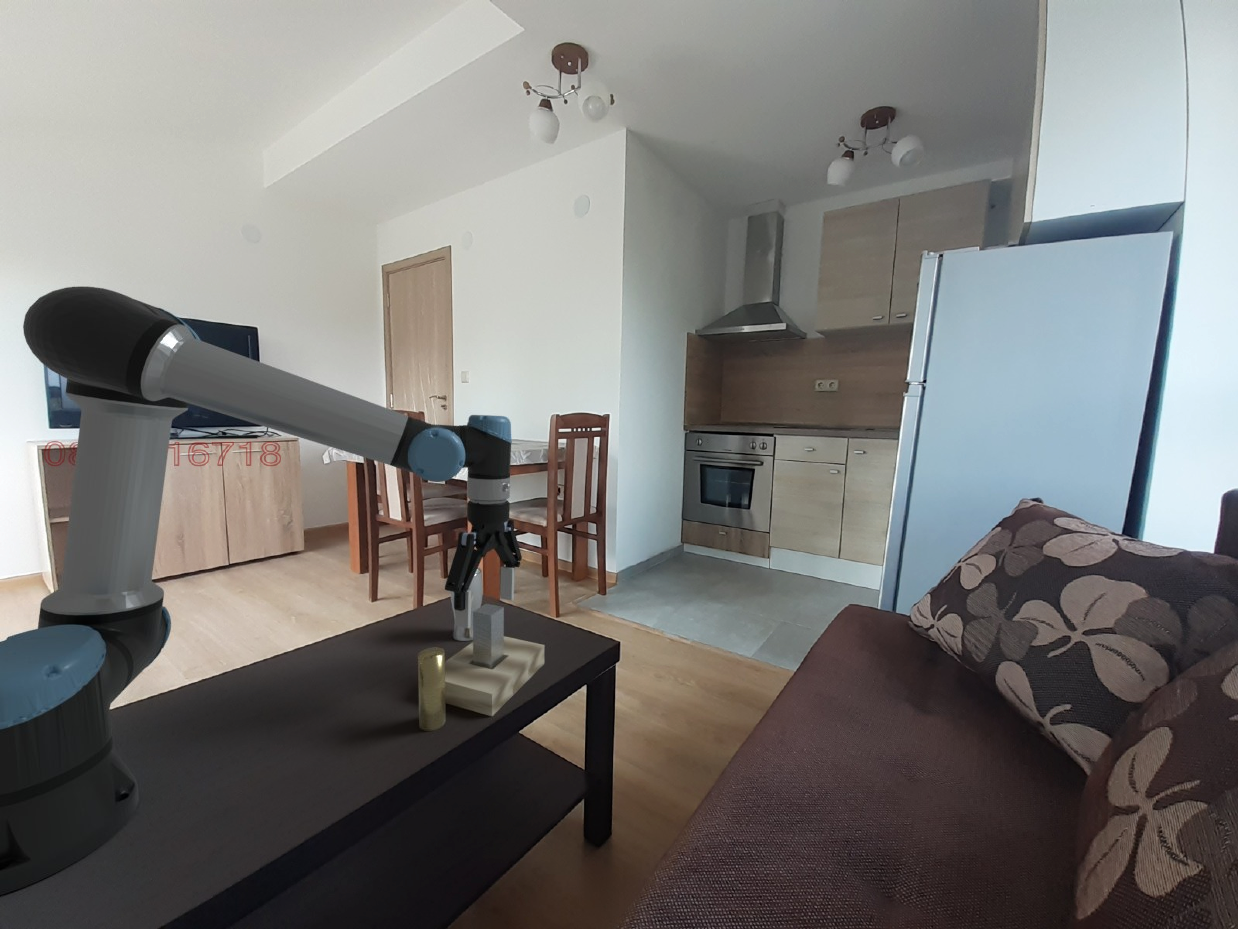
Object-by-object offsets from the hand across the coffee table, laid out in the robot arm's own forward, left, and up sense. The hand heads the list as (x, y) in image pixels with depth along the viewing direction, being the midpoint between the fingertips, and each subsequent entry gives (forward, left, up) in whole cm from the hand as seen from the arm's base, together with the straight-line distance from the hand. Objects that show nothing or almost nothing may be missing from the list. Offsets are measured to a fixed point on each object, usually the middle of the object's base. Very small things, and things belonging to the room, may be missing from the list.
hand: (486, 611), depth 88 cm
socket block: (0, 0, -14) cm, 14 cm away
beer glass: (+13, +15, -14) cm, 24 cm away
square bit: (0, 0, -14) cm, 14 cm away
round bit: (-14, +1, -14) cm, 19 cm away
